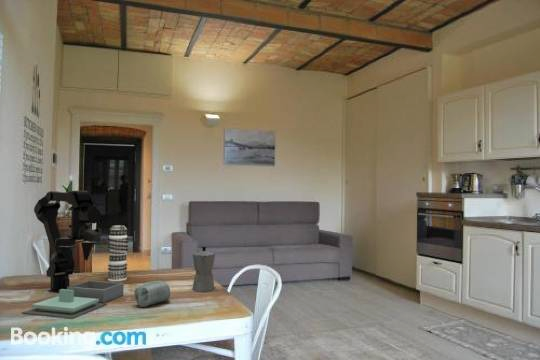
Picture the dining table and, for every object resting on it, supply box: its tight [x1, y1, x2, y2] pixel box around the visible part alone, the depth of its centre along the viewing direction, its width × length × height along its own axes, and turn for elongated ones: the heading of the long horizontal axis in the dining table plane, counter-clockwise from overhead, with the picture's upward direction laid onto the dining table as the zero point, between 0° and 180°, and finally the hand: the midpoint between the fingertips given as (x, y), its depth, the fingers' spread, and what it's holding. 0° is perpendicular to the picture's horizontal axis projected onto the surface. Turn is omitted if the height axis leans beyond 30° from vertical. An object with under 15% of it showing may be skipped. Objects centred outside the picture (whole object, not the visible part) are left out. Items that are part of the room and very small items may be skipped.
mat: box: [21, 303, 108, 320], centre depth 142 cm, size 20×17×1 cm
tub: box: [67, 280, 125, 304], centre depth 157 cm, size 16×12×5 cm
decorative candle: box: [107, 224, 130, 282], centre depth 192 cm, size 9×9×25 cm
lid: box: [31, 289, 99, 314], centre depth 142 cm, size 17×13×6 cm
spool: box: [134, 280, 171, 308], centre depth 150 cm, size 14×10×10 cm
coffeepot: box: [191, 246, 216, 293], centre depth 174 cm, size 15×9×18 cm, turn 13°
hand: (78, 261), depth 162 cm, fingers open, 9 cm apart
